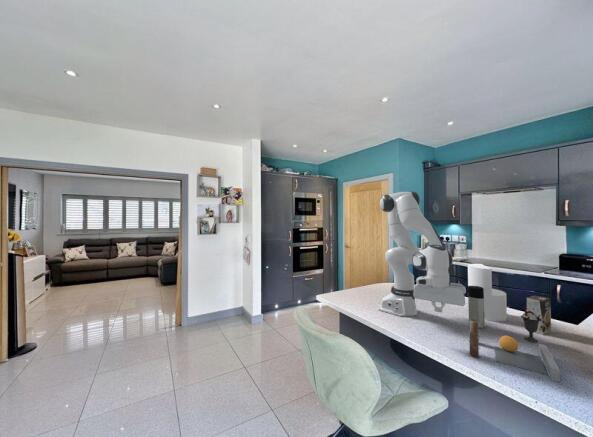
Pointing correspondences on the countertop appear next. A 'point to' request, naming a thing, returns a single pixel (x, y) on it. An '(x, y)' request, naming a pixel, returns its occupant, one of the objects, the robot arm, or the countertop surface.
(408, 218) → the robot arm
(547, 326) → the coffee box
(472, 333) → the post
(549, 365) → the bar
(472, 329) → the post
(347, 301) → the countertop surface
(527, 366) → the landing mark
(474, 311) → the spray can
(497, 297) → the cylinder
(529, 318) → the sundae
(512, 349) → the ball
